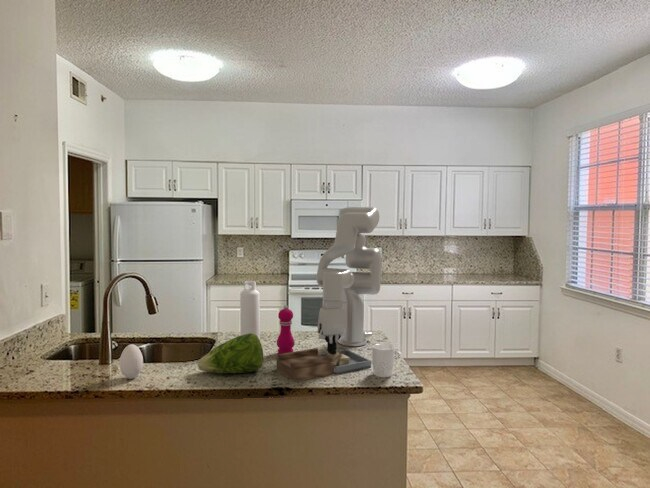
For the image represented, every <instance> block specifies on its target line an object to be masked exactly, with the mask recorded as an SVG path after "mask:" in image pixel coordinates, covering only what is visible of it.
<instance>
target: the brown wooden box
mask: <svg viewBox="0 0 650 488" xmlns="http://www.w3.org/2000/svg"><path fill="white" fill-rule="evenodd" d="M319 354H320V353H319V348H316V347H315V348H308V349H303V350H297V351H293V352H290V353H284V354H278V353H277V358H276V370H277V371H278V372H280V373H281V374H283V376H285V377H286V378H288V379H289V380H291V381H292V382H293V383H294V382H298V381H304V380H309V379H313V378H319V377H324V376H328V375H329V376H330V375H334V374H335V373H334V362H333V357H332V356H326V357H323V356H321V355H319Z"/></svg>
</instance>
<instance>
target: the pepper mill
mask: <svg viewBox="0 0 650 488" xmlns="http://www.w3.org/2000/svg"><path fill="white" fill-rule="evenodd" d="M293 318H294V313H293V311H292V310H291V309H289V306H288V305H284V306H283V308H282V309H280V310H279V312H278V319H279V325H280V331H279V335H278V337H277V339H276V346H277V347H278V349H277V355H278V354H284V353H290V352H294V348H293V347H294V346H295V338H294V336H293V334H292V331H291V329H292V328H291V327H292V325H293V321H292V320H293Z"/></svg>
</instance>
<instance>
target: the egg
mask: <svg viewBox="0 0 650 488" xmlns="http://www.w3.org/2000/svg"><path fill="white" fill-rule="evenodd" d="M143 366H144V357H143V353H142V352H141V350H140V348H139V346H137V345H135V344H133V343H132V344H128V345H127V346H125V348H124V349H123V351H122V352H121V355H120V358H119V370H120V372H121V374H122V375H123V376H124V377H125V378H126V379H129V380H131V379H132V380H133V379H135V378H137V377H138V376H139V375H140V373H141V372H142V369H143Z"/></svg>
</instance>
